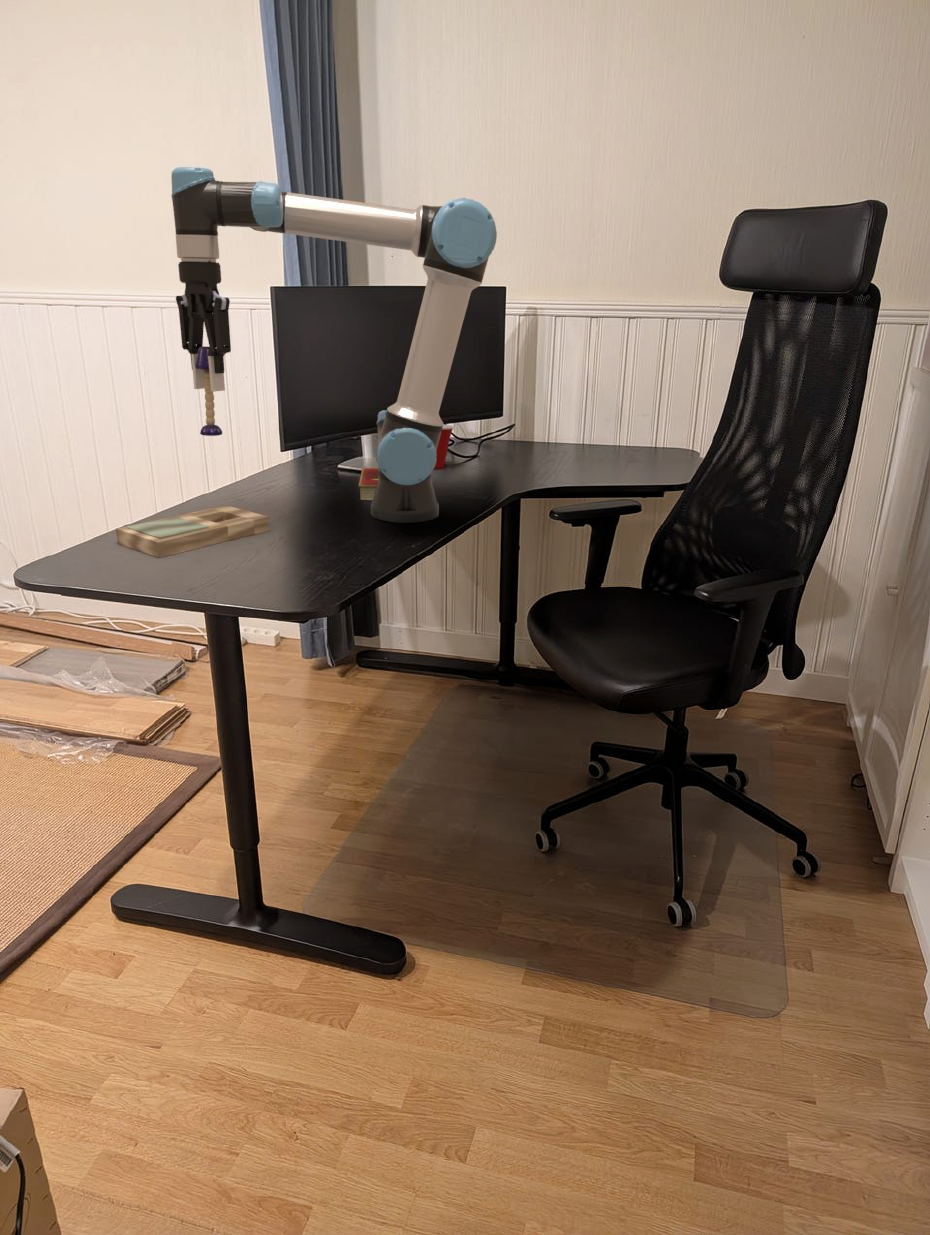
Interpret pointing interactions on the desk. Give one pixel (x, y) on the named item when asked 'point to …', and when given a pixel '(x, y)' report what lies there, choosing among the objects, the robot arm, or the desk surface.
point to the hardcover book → (368, 483)
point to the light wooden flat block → (191, 530)
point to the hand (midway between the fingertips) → (209, 389)
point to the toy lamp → (207, 394)
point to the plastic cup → (443, 446)
